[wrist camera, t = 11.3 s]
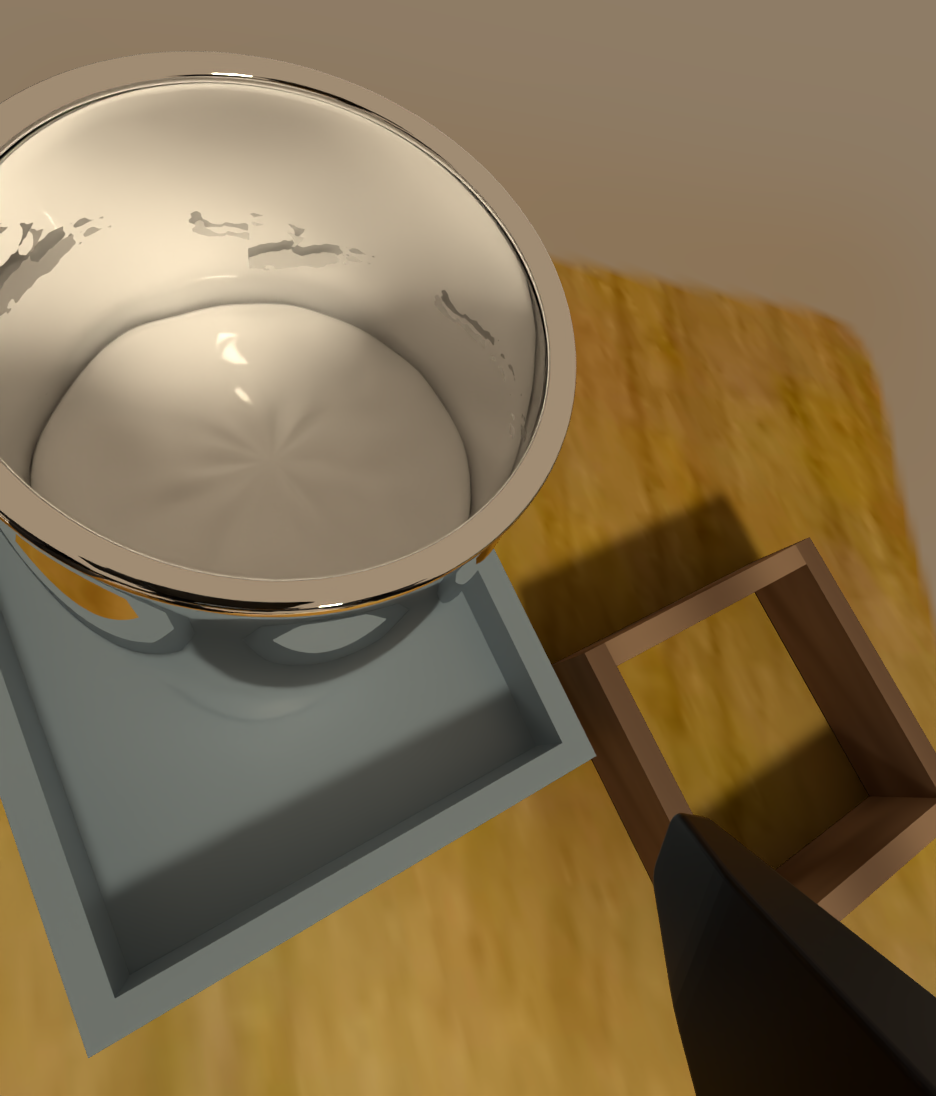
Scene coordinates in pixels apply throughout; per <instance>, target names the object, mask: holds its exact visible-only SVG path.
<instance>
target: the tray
mask: <svg viewBox="0 0 936 1096" xmlns="http://www.w3.org/2000/svg"><path fill="white" fill-rule="evenodd" d="M595 756H596V754H595V752H594V750H593V748H592V746H591V744H590V742H589V740H588V738H587V736H586V734H585V732H584V730H583V728H582V726H581V724H580V722H579V720H578V718H577V716H576V714H575V712H574V710H573V708H572V705H571V703H570V701H569V699H568V697H567V695H566V693H565V691H564V689H563V687H562V685H561V683H560V681H559V679H558V677H557V675H556V673H555V671H554V669H553V667H552V665H551V663H550V661H549V659H548V657H547V655H546V653H545V651H544V649H543V647H542V645H541V643H540V641H539V639H538V637H537V635H536V633H535V631H534V629H533V627H532V625H531V623H530V621H529V619H528V617H527V615H526V613H525V611H524V609H523V607H522V605H521V603H520V601H519V599H518V596H517V594H516V592H515V590H514V588H513V586H512V584H511V582H510V580H509V578H508V576H507V574H506V572H505V570H504V568H503V566H502V564H501V562H500V560H499V558H498V556H497V554H496V552H495V550H494V549H493V550H492V552H491V553H490V554H489V556H488V557H487V559H486V560H485V561H484V563H483V564H482V565H481V567H480V568H479V569H478V571H477V572H476V573H475V575H474V576H473V577H472V579H471V580H470V581H469V583H468V584H467V585H466V587H465V588H464V589H463V590H462V591H461V593H460V594H459V595H458V596H457V597H456V598H455V600H454V601H453V602H452V603H451V604H450V605H449V606H448V607H447V608H446V609H445V610H444V611H443V612H442V614H441V615H440V616H439V617H438V618H437V619H436V620H435V621H434V622H433V623H432V624H431V625H430V626H429V627H428V628H427V629H426V630H425V631H424V632H423V633H422V634H421V635H420V636H418V637H417V638H416V639H415V640H414V641H413V642H411V643H410V644H409V645H408V646H406V647H405V648H404V649H402V650H401V651H399V652H398V653H397V654H395V655H394V656H392V657H391V658H389V659H388V660H386V661H385V662H383V663H382V664H380V665H379V666H377V667H376V668H374V669H373V670H371V671H369V672H367V673H366V674H364V675H362V676H360V677H358V678H356V679H354V680H352V681H350V682H348V683H345V684H343V685H340V686H338V687H336V688H335V689H334V690H333V691H332V692H331V693H329V694H328V695H327V696H326V697H324V698H323V699H322V700H320V701H319V702H317V703H316V704H314V705H313V706H311V707H309V708H307V709H305V710H303V711H301V712H299V713H296V714H294V715H291V716H287V717H284V718H279V719H273V720H264V721H248V720H239V719H233V718H229V717H225V716H221V715H218V714H216V713H213V712H211V711H209V710H207V709H205V708H203V707H201V706H199V705H198V704H196V703H195V702H193V701H192V700H191V699H189V698H188V697H187V696H186V695H184V694H183V693H182V692H181V691H180V690H179V689H178V688H177V687H174V686H172V685H169V684H167V683H164V682H162V681H160V680H158V679H156V678H154V677H152V676H150V675H148V674H146V673H144V672H142V671H141V670H139V669H137V668H136V667H134V666H132V665H131V664H129V663H128V662H126V661H125V660H123V659H122V658H120V657H119V656H117V655H116V654H114V653H113V652H111V651H110V650H109V649H107V648H106V647H104V646H103V645H101V644H100V643H99V642H97V641H96V640H95V639H93V638H92V637H91V636H90V635H89V634H88V633H86V632H85V631H84V630H83V629H82V628H81V627H80V626H79V625H78V624H77V623H76V622H74V620H73V619H72V618H71V617H70V616H69V615H68V614H67V613H66V612H65V611H64V610H63V609H62V608H61V607H60V606H59V605H58V604H57V602H56V601H55V600H54V599H53V598H52V597H51V596H50V595H49V594H48V593H47V592H46V591H45V590H44V589H43V588H42V586H41V585H40V584H39V583H38V582H37V580H36V579H35V578H34V577H33V576H32V574H31V573H30V572H29V570H28V569H27V568H26V566H25V565H24V564H23V562H22V561H21V559H20V558H19V557H18V555H17V554H16V553H15V551H14V550H13V548H12V547H11V546H10V544H9V543H8V542H7V540H6V539H5V537H4V536H3V535H2V533H1V532H0V797H1V800H2V803H3V806H4V809H5V812H6V815H7V818H8V821H9V824H10V827H11V830H12V833H13V836H14V839H15V842H16V845H17V848H18V851H19V854H20V857H21V860H22V862H23V865H24V868H25V871H26V874H27V877H28V880H29V883H30V886H31V889H32V892H33V895H34V898H35V901H36V904H37V907H38V910H39V913H40V916H41V919H42V922H43V925H44V928H45V931H46V934H47V937H48V940H49V943H50V946H51V949H52V952H53V955H54V958H55V961H56V964H57V967H58V970H59V973H60V975H61V978H62V981H63V984H64V987H65V990H66V993H67V996H68V999H69V1002H70V1005H71V1008H72V1011H73V1014H74V1017H75V1020H76V1023H77V1026H78V1029H79V1032H80V1035H81V1038H82V1041H83V1044H84V1047H85V1050H86V1053H87V1056H88V1058H90V1057H91V1056H93V1055H95V1054H96V1053H98V1052H100V1051H101V1050H103V1049H105V1048H106V1047H108V1046H110V1045H111V1044H113V1043H115V1042H117V1041H118V1040H120V1039H122V1038H123V1037H125V1036H127V1035H128V1034H130V1033H132V1032H133V1031H135V1030H137V1029H138V1028H140V1027H142V1026H143V1025H145V1024H147V1023H148V1022H150V1021H152V1020H153V1019H155V1018H157V1017H159V1016H160V1015H162V1014H164V1013H165V1012H167V1011H169V1010H170V1009H172V1008H174V1007H175V1006H177V1005H179V1004H180V1003H182V1002H184V1001H185V1000H187V999H189V998H190V997H192V996H194V995H195V994H197V993H199V992H201V991H202V990H204V989H206V988H207V987H209V986H211V985H212V984H214V983H216V982H217V981H219V980H221V979H222V978H224V977H226V976H227V975H229V974H231V973H232V972H234V971H236V970H237V969H239V968H241V967H243V966H244V965H246V964H248V963H249V962H251V961H253V960H254V959H256V958H258V957H259V956H261V955H263V954H264V953H266V952H268V951H269V950H271V949H273V948H274V947H276V946H278V945H279V944H281V943H283V942H285V941H286V940H288V939H290V938H291V937H293V936H295V935H296V934H298V933H300V932H301V931H303V930H305V929H306V928H308V927H310V926H311V925H313V924H315V923H316V922H318V921H320V920H321V919H323V918H325V917H327V916H328V915H330V914H332V913H333V912H335V911H337V910H338V909H340V908H342V907H343V906H345V905H347V904H348V903H350V902H352V901H353V900H355V899H357V898H358V897H360V896H362V895H363V894H365V893H367V892H369V891H370V890H372V889H374V888H375V887H377V886H379V885H380V884H382V883H384V882H385V881H387V880H389V879H390V878H392V877H394V876H395V875H397V874H399V873H400V872H402V871H404V870H405V869H407V868H409V867H411V866H412V865H414V864H416V863H417V862H419V861H421V860H422V859H424V858H426V857H427V856H429V855H431V854H432V853H434V852H436V851H437V850H439V849H441V848H442V847H444V846H446V845H447V844H449V843H451V842H453V841H454V840H456V839H458V838H459V837H461V836H463V835H464V834H466V833H468V832H469V831H471V830H473V829H474V828H476V827H478V826H479V825H481V824H483V823H484V822H486V821H488V820H489V819H491V818H493V817H495V816H496V815H498V814H500V813H501V812H503V811H505V810H506V809H508V808H510V807H511V806H513V805H515V804H516V803H518V802H520V801H521V800H523V799H525V798H526V797H528V796H530V795H531V794H533V793H535V792H537V791H538V790H540V789H542V788H543V787H545V786H547V785H548V784H550V783H552V782H553V781H555V780H557V779H558V778H560V777H562V776H563V775H565V774H567V773H568V772H570V771H572V770H573V769H575V768H577V767H579V766H580V765H582V764H584V763H585V762H587V761H589V760H590V759H592V758H594V757H595Z"/></svg>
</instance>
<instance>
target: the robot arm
mask: <svg viewBox="0 0 936 1096" xmlns="http://www.w3.org/2000/svg"><path fill="white" fill-rule="evenodd" d="M653 885H654V892H655V898H656V904H657V911H658V917H659V923H660V929H661V936H662V942H663V948H664V955H665V961H666V967H667V973H668V980H669V986H670V992H671V997H672V1002H673V1008H674V1012H675V1016H676V1020H677V1024H678V1029H679V1033H680V1036H681V1040H682V1044H683V1048H684V1052H685V1055H686V1059H687V1063H688V1067H689V1071H690V1074H691V1078H692V1082H693V1086H694V1089H695V1093H696V1096H936V997H934V996H933V995H932V994H931V993H929V992H928V991H927V990H926V989H924V988H923V987H922V986H921V985H919V984H918V983H917V982H915V981H914V980H913V979H912V978H910V977H909V976H908V975H907V974H905V973H904V972H903V971H902V970H900V969H899V968H898V967H896V966H895V965H894V964H893V963H891V962H890V961H889V960H888V959H886V958H885V957H884V956H883V955H881V954H880V953H879V952H877V951H876V950H875V949H874V948H872V947H871V946H870V945H869V944H867V943H866V942H865V941H864V940H862V939H861V938H860V937H858V936H857V935H856V934H855V933H853V932H852V931H851V930H850V929H848V928H847V927H846V926H845V925H843V924H842V923H841V922H839V921H838V920H837V919H836V918H834V917H833V916H832V915H831V914H829V913H828V912H827V911H826V910H824V909H823V908H822V907H820V906H819V905H818V904H817V903H815V902H814V901H813V900H812V899H810V898H809V897H808V896H807V895H805V894H804V893H803V892H801V891H800V890H799V889H798V888H796V887H795V886H794V885H793V884H791V883H790V882H789V881H788V880H786V879H785V878H784V877H782V876H781V875H780V874H779V873H777V872H776V871H775V870H774V869H772V868H771V867H770V866H769V865H767V864H766V863H765V862H763V861H762V860H761V859H760V858H758V857H757V856H756V855H755V854H753V853H752V852H751V851H750V850H748V849H747V848H746V847H744V846H743V845H742V844H741V843H739V842H738V841H737V840H736V839H734V838H733V837H732V836H731V835H729V834H728V833H727V832H725V831H724V830H723V829H722V828H720V827H719V826H718V825H717V824H715V823H714V822H713V821H712V820H710V819H708V818H705V817H701V816H696V815H691V814H686V813H678V814H676V815H674V817H673V818H672V820H671V822H670V824H669V827H668V829H667V832H666V835H665V838H664V841H663V844H662V846H661V849H660V852H659V855H658V858H657V861H656V864H655V867H654V874H653Z"/></svg>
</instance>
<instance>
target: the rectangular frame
mask: <svg viewBox="0 0 936 1096" xmlns="http://www.w3.org/2000/svg"><path fill="white" fill-rule="evenodd" d="M754 592H755V593H756V594H757V596H758V598H759V600H760V602H761V603H762V605H763V607H764V609H765V610H766V612H767V614H768V616H769V618H770V619H771V621H772V623H773V625H774V627H775V628H776V630H777V632H778V634H779V635H780V637H781V639H782V641H783V643H784V644H785V646H786V648H787V650H788V652H789V653H790V655H791V657H792V659H793V660H794V662H795V664H796V666H797V668H798V669H799V671H800V673H801V675H802V676H803V678H804V680H805V682H806V684H807V685H808V687H809V689H810V691H811V693H812V694H813V696H814V698H815V700H816V701H817V703H818V705H819V707H820V709H821V710H822V712H823V714H824V716H825V717H826V719H827V721H828V723H829V725H830V726H831V728H832V730H833V732H834V734H835V735H836V737H837V739H838V741H839V742H840V744H841V746H842V748H843V750H844V751H845V753H846V755H847V757H848V758H849V760H850V762H851V764H852V766H853V767H854V769H855V771H856V773H857V775H858V776H859V778H860V780H861V782H862V783H863V785H864V787H865V789H866V791H867V792H868V794H869V797H868V798H867V799H866V800H864V801H863V802H862V803H861V804H859V805H858V806H857V807H855V808H854V809H853V810H852V811H850V812H849V813H848V814H847V815H845V816H844V817H843V818H841V819H840V820H839V821H838V822H836V823H835V824H834V825H832V826H831V827H830V828H829V829H827V830H826V831H825V832H824V833H822V834H821V835H820V836H818V837H817V838H816V839H815V840H813V841H812V842H811V843H810V844H808V845H807V846H806V847H804V848H803V849H802V850H801V851H799V852H798V853H797V854H795V855H794V856H793V857H792V858H790V859H789V860H788V861H787V862H785V863H784V864H783V865H781V866H780V867H779V868H778V869H776V870H775V871H776V872H777V873H779V874H780V875H781V876H782V877H784V878H785V879H786V880H788V881H789V882H790V883H791V884H793V885H794V886H795V887H796V888H798V889H799V890H800V891H801V892H803V893H804V894H805V895H807V896H808V897H809V898H810V899H812V900H813V901H814V902H815V903H817V904H818V905H819V906H820V907H822V908H823V909H824V910H826V911H827V912H828V913H829V914H831V915H832V916H833V917H834V918H836V919H837V920H838V921H839V922H840V921H841V920H842V919H843V918H844V917H846V916H847V915H848V914H849V913H850V912H851V911H852V910H854V909H855V908H856V907H857V906H858V905H859V904H860V903H862V902H863V901H864V900H865V899H866V898H867V897H868V896H870V895H871V894H872V893H873V892H874V891H875V890H876V889H878V888H879V887H880V886H881V885H882V884H883V883H884V882H886V881H887V880H888V879H889V878H890V877H891V876H892V875H894V874H895V873H896V872H897V871H898V870H899V869H900V868H902V867H903V866H904V865H905V864H906V863H907V862H908V861H910V860H911V859H912V858H913V857H914V856H915V855H916V854H918V853H919V852H920V851H921V850H922V849H923V848H924V847H926V846H927V845H928V844H929V843H930V842H931V841H932V840H934V839H935V838H936V753H935V751H934V749H933V747H932V746H931V744H930V742H929V741H928V739H927V737H926V735H925V734H924V732H923V730H922V729H921V727H920V725H919V723H918V722H917V720H916V718H915V717H914V715H913V713H912V711H911V710H910V708H909V706H908V705H907V703H906V701H905V699H904V698H903V696H902V694H901V693H900V691H899V689H898V688H897V686H896V684H895V682H894V681H893V679H892V677H891V676H890V674H889V672H888V670H887V669H886V667H885V665H884V664H883V662H882V660H881V658H880V657H879V655H878V653H877V652H876V650H875V648H874V646H873V645H872V643H871V641H870V640H869V638H868V636H867V634H866V633H865V631H864V629H863V628H862V626H861V624H860V622H859V621H858V619H857V617H856V616H855V614H854V612H853V611H852V609H851V607H850V605H849V604H848V602H847V600H846V599H845V597H844V595H843V593H842V592H841V590H840V588H839V587H838V585H837V583H836V581H835V580H834V578H833V576H832V575H831V573H830V571H829V569H828V568H827V566H826V564H825V563H824V561H823V559H822V557H821V556H820V554H819V552H818V551H817V549H816V547H815V546H814V544H813V542H812V540H811V539H810V537H809V538H807V539H804V540H802V541H800V542H798V543H795V544H793V545H791V546H788V547H786V548H784V549H781V550H779V551H777V552H775V553H772V554H770V555H768V556H765V557H763V558H761V559H758V560H756V561H754V562H752V563H750V564H748V565H746V566H744V567H742V568H740V569H738V570H736V571H734V572H732V573H731V574H729V575H727V576H725V577H723V578H721V579H719V580H717V581H715V582H713V583H711V584H709V585H707V586H705V587H703V588H701V589H699V590H697V591H695V592H693V593H691V594H689V595H687V596H686V597H684V598H682V599H680V600H678V601H676V602H674V603H672V604H670V605H668V606H666V607H664V608H662V609H660V610H658V611H656V612H654V613H652V614H650V615H648V616H646V617H644V618H642V619H641V620H639V621H637V622H635V623H633V624H631V625H629V626H627V627H625V628H623V629H621V630H619V631H617V632H615V633H613V634H611V635H609V636H607V637H605V638H603V639H601V640H599V641H597V642H596V643H594V644H592V645H590V646H588V647H586V648H584V649H582V650H580V651H578V652H576V653H574V654H572V655H570V656H568V657H566V658H564V659H562V660H560V661H558V662H556V663H554V664H552V667H553V669H554V671H555V673H556V675H557V677H558V679H559V681H560V683H561V685H562V687H563V689H564V691H565V693H566V695H567V697H568V699H569V701H570V703H571V705H572V708H573V710H574V712H575V714H576V716H577V718H578V720H579V722H580V724H581V726H582V728H583V730H584V732H585V734H586V736H587V738H588V740H589V742H590V744H591V746H592V748H593V750H594V752H595V754H596V756H595V757H594V758H592V761H593V763H594V765H595V767H596V769H597V771H598V773H599V775H600V777H601V779H602V781H603V783H604V785H605V787H606V789H607V791H608V793H609V795H610V797H611V799H612V801H613V803H614V805H615V807H616V809H617V811H618V813H619V815H620V817H621V820H622V822H623V824H624V826H625V828H626V830H627V832H628V834H629V836H630V838H631V840H632V842H633V844H634V846H635V848H636V850H637V852H638V854H639V856H640V858H641V860H642V862H643V864H644V866H645V868H646V870H647V872H648V874H649V876H650V878H651V880H652V882H653V874H654V867H655V864H656V861H657V858H658V855H659V852H660V849H661V846H662V844H663V841H664V838H665V835H666V832H667V829H668V827H669V824H670V822H671V820H672V818H673V817H674V815H676V814H678V813H686V814H691V815H693V814H692V812H691V810H690V808H689V806H688V804H687V802H686V800H685V798H684V796H683V794H682V792H681V791H680V789H679V787H678V785H677V783H676V781H675V779H674V777H673V775H672V773H671V771H670V769H669V767H668V765H667V763H666V761H665V759H664V757H663V755H662V753H661V752H660V750H659V748H658V746H657V744H656V742H655V740H654V738H653V736H652V734H651V732H650V730H649V728H648V726H647V724H646V722H645V720H644V718H643V716H642V714H641V713H640V711H639V709H638V707H637V705H636V703H635V701H634V699H633V697H632V695H631V693H630V691H629V689H628V687H627V685H626V683H625V681H624V679H623V677H622V675H621V674H620V672H619V670H618V668H617V666H618V665H620V664H621V663H623V662H625V661H627V660H629V659H631V658H633V657H634V656H636V655H638V654H640V653H642V652H644V651H646V650H647V649H649V648H651V647H653V646H655V645H657V644H659V643H660V642H662V641H664V640H666V639H668V638H670V637H672V636H674V635H675V634H677V633H679V632H681V631H683V630H685V629H687V628H688V627H690V626H692V625H694V624H696V623H698V622H700V621H701V620H703V619H705V618H707V617H709V616H711V615H713V614H715V613H716V612H718V611H720V610H722V609H724V608H726V607H728V606H729V605H731V604H733V603H735V602H737V601H739V600H741V599H742V598H744V597H746V596H748V595H750V594H752V593H754Z"/></svg>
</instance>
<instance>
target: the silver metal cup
mask: <svg viewBox="0 0 936 1096" xmlns="http://www.w3.org/2000/svg"><path fill="white" fill-rule="evenodd" d="M575 388H576V348H575V339H574V332H573V326H572V321H571V316H570V312H569V308H568V304H567V301H566V297H565V294H564V291H563V288H562V285H561V282H560V279H559V277H558V274H557V272H556V270H555V267H554V265H553V263H552V261H551V258H550V256H549V255H548V253H547V251H546V249H545V247H544V245H543V243H542V241H541V240H540V238H539V236H538V234H537V233H536V231H535V230H534V228H533V226H532V225H531V223H530V222H529V220H528V219H527V217H526V216H525V215H524V213H523V212H522V210H521V209H520V208H519V206H518V205H517V204H516V203H515V201H514V200H513V199H512V197H511V196H510V195H509V194H508V193H507V191H506V190H505V189H504V188H503V187H502V186H501V185H500V184H499V182H497V180H496V179H495V178H494V177H493V176H492V175H491V174H490V173H489V172H488V171H487V170H486V169H485V168H484V167H483V166H482V165H481V164H480V163H479V162H478V161H477V160H476V159H475V158H473V157H472V156H471V155H470V154H469V153H468V152H466V151H465V150H464V149H463V148H462V147H461V146H459V145H458V144H457V143H456V142H454V141H453V140H452V139H451V138H449V137H448V136H447V135H445V134H444V133H443V132H441V131H440V130H438V129H437V128H435V127H434V126H433V125H431V124H430V123H428V122H426V121H425V120H423V119H422V118H420V117H419V116H417V115H415V114H413V113H412V112H410V111H409V110H407V109H405V108H403V107H402V106H400V105H398V104H396V103H394V102H392V101H390V100H389V99H387V98H385V97H383V96H381V95H379V94H377V93H375V92H372V91H370V90H368V89H366V88H363V87H361V86H359V85H356V84H354V83H351V82H348V81H346V80H344V79H341V78H338V77H335V76H333V75H330V74H327V73H324V72H320V71H317V70H314V69H311V68H307V67H303V66H299V65H296V64H292V63H288V62H283V61H278V60H274V59H268V58H263V57H256V56H250V55H242V54H233V53H222V52H204V51H178V52H158V53H147V54H139V55H132V56H126V57H120V58H115V59H110V60H105V61H101V62H97V63H93V64H89V65H85V66H82V67H79V68H75V69H72V70H69V71H66V72H64V73H61V74H58V75H55V76H53V77H50V78H48V79H46V80H43V81H41V82H39V83H37V84H35V85H33V86H30V87H28V88H26V89H24V90H23V91H21V92H19V93H17V94H15V95H13V96H12V97H10V98H8V99H6V100H5V101H3V102H2V103H0V532H1V533H2V535H3V536H4V537H5V539H6V540H7V542H8V543H9V544H10V546H11V547H12V548H13V550H14V551H15V553H16V554H17V555H18V557H19V558H20V559H21V561H22V562H23V564H24V565H25V566H26V568H27V569H28V570H29V572H30V573H31V574H32V576H33V577H34V578H35V579H36V580H37V582H38V583H39V584H40V585H41V586H42V588H43V589H44V590H45V591H46V592H47V593H48V594H49V595H50V596H51V597H52V598H53V599H54V600H55V601H56V602H57V604H58V605H59V606H60V607H61V608H62V609H63V610H64V611H65V612H66V613H67V614H68V615H69V616H70V617H71V618H72V619H73V620H74V622H76V623H77V624H78V625H79V626H80V627H81V628H82V629H83V630H84V631H85V632H86V633H88V634H89V635H90V636H91V637H92V638H93V639H95V640H96V641H97V642H99V643H100V644H101V645H103V646H104V647H106V648H107V649H109V650H110V651H111V652H113V653H114V654H116V655H117V656H119V657H120V658H122V659H123V660H125V661H126V662H128V663H129V664H131V665H132V666H134V667H136V668H137V669H139V670H141V671H142V672H144V673H146V674H148V675H150V676H152V677H154V678H156V679H158V680H160V681H162V682H164V683H167V684H169V685H172V686H174V687H177V688H178V689H179V690H180V691H181V692H182V693H183V694H184V695H186V696H187V697H188V698H189V699H191V700H192V701H193V702H195V703H196V704H198V705H199V706H201V707H203V708H205V709H207V710H209V711H211V712H213V713H216V714H218V715H221V716H225V717H229V718H233V719H239V720H248V721H264V720H273V719H279V718H284V717H287V716H291V715H294V714H296V713H299V712H301V711H303V710H305V709H307V708H309V707H311V706H313V705H314V704H316V703H317V702H319V701H320V700H322V699H323V698H324V697H326V696H327V695H328V694H329V693H331V692H332V691H333V690H334V689H335V688H336V687H338V686H340V685H343V684H345V683H348V682H350V681H352V680H354V679H356V678H358V677H360V676H362V675H364V674H366V673H367V672H369V671H371V670H373V669H374V668H376V667H377V666H379V665H380V664H382V663H383V662H385V661H386V660H388V659H389V658H391V657H392V656H394V655H395V654H397V653H398V652H399V651H401V650H402V649H404V648H405V647H406V646H408V645H409V644H410V643H411V642H413V641H414V640H415V639H416V638H417V637H418V636H420V635H421V634H422V633H423V632H424V631H425V630H426V629H427V628H428V627H429V626H430V625H431V624H432V623H433V622H434V621H435V620H436V619H437V618H438V617H439V616H440V615H441V614H442V612H443V611H444V610H445V609H446V608H447V607H448V606H449V605H450V604H451V603H452V602H453V601H454V600H455V598H456V597H457V596H458V595H459V594H460V593H461V591H462V590H463V589H464V588H465V587H466V585H467V584H468V583H469V581H470V580H471V579H472V577H473V576H474V575H475V573H476V572H477V571H478V569H479V568H480V567H481V565H482V564H483V563H484V561H485V560H486V559H487V557H488V556H489V554H490V553H491V552H492V550H493V549H494V547H495V546H496V544H497V543H498V541H499V540H500V538H501V537H502V535H503V534H504V533H505V532H506V531H507V530H508V529H509V528H510V527H511V526H512V525H513V524H514V523H515V522H516V521H517V520H518V519H519V517H520V516H521V515H522V514H523V513H524V511H525V510H526V509H527V508H528V506H529V505H530V504H531V502H532V501H533V500H534V498H535V497H536V496H537V494H538V493H539V491H540V489H541V488H542V486H543V485H544V483H545V481H546V480H547V478H548V476H549V474H550V472H551V470H552V468H553V466H554V464H555V462H556V460H557V458H558V455H559V453H560V451H561V448H562V445H563V443H564V440H565V437H566V434H567V430H568V427H569V423H570V419H571V415H572V410H573V404H574V397H575Z"/></svg>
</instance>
